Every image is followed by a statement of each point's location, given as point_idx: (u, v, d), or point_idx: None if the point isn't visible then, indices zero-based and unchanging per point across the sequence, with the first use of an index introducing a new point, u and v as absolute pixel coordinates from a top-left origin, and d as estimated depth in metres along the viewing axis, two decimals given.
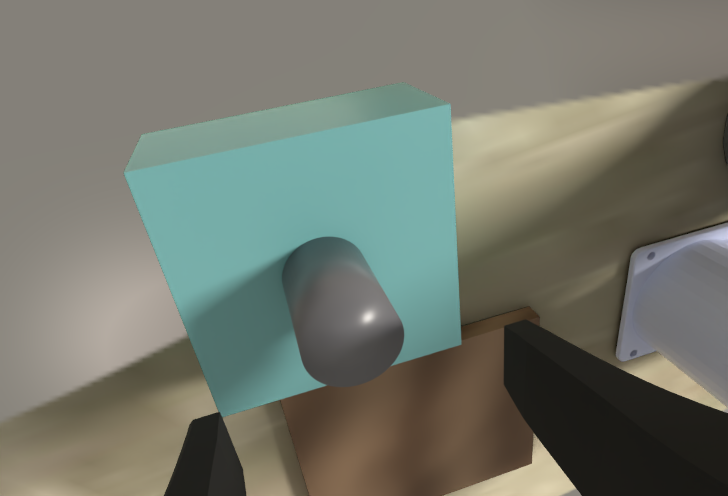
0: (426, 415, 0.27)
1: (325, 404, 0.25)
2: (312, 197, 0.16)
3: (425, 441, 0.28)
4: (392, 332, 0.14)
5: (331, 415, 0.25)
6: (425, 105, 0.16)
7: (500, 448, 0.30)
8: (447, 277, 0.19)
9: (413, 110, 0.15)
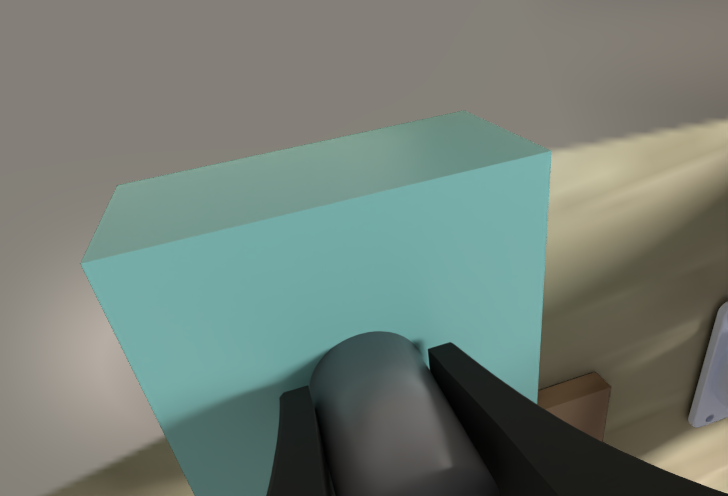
0: None
1: None
2: (355, 283, 0.11)
3: None
4: None
5: None
6: (514, 152, 0.11)
7: None
8: (525, 371, 0.14)
9: (500, 161, 0.11)
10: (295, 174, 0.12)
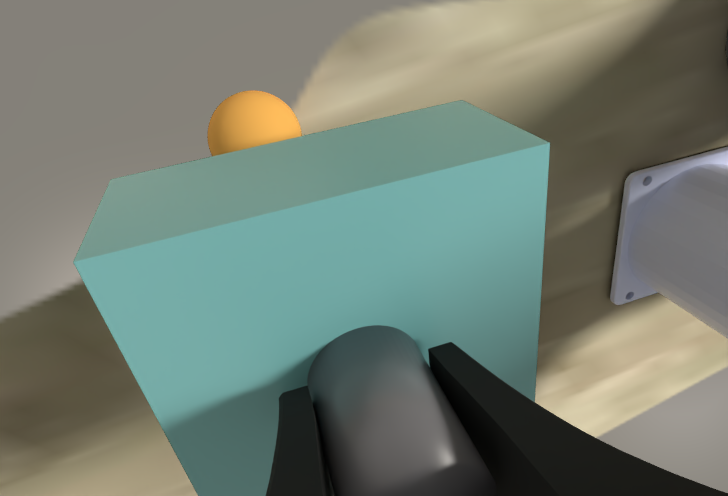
0: None
1: None
2: (351, 277, 0.11)
3: None
4: None
5: None
6: (512, 144, 0.11)
7: None
8: (523, 363, 0.14)
9: (498, 153, 0.11)
10: (290, 167, 0.12)
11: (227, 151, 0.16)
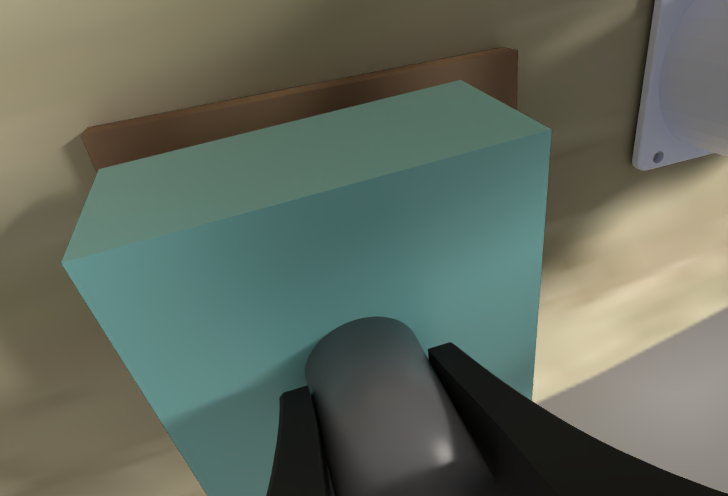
0: None
1: None
2: (347, 270, 0.11)
3: None
4: (478, 489, 0.09)
5: None
6: (512, 131, 0.11)
7: None
8: (521, 348, 0.14)
9: (497, 141, 0.10)
10: (283, 157, 0.11)
11: None
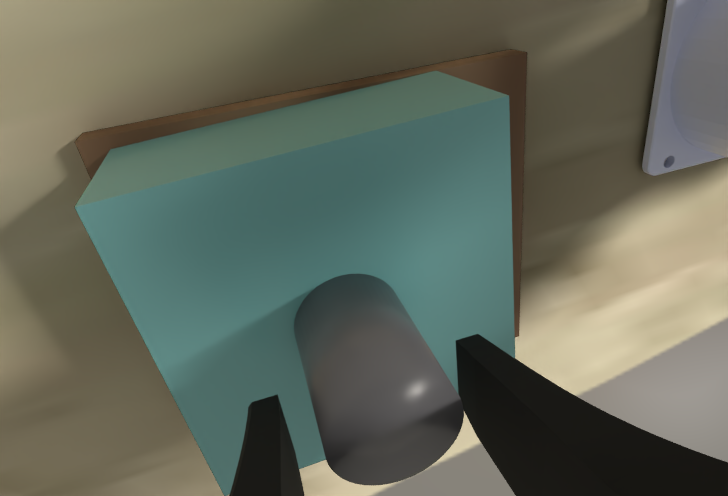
0: None
1: None
2: (330, 225, 0.12)
3: None
4: (448, 413, 0.10)
5: None
6: (475, 98, 0.12)
7: None
8: (500, 314, 0.15)
9: (460, 106, 0.12)
10: (273, 129, 0.13)
11: None
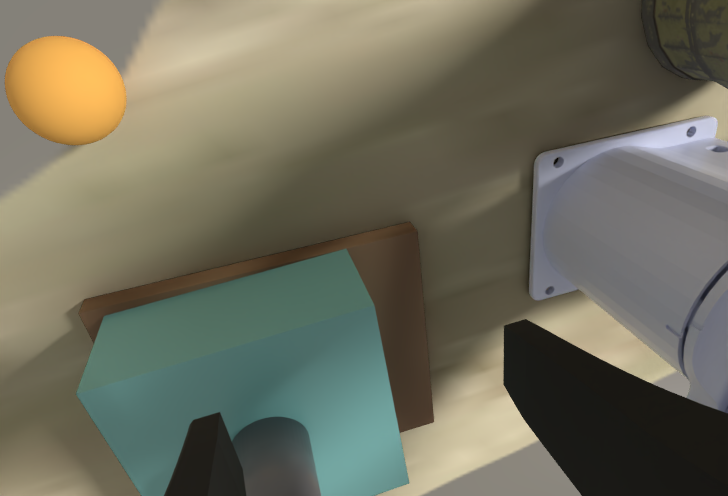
0: None
1: None
2: (251, 390, 0.17)
3: None
4: None
5: None
6: (352, 304, 0.17)
7: None
8: (388, 434, 0.20)
9: (340, 313, 0.17)
10: (216, 315, 0.18)
11: (18, 101, 0.14)
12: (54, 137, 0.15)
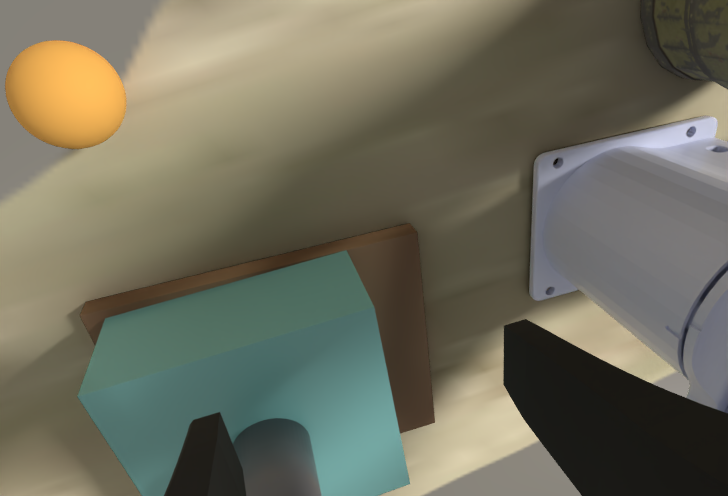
0: None
1: None
2: (252, 392, 0.17)
3: None
4: None
5: None
6: (352, 306, 0.17)
7: None
8: (389, 435, 0.20)
9: (340, 314, 0.17)
10: (217, 317, 0.18)
11: (18, 106, 0.14)
12: (54, 141, 0.15)
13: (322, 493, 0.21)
